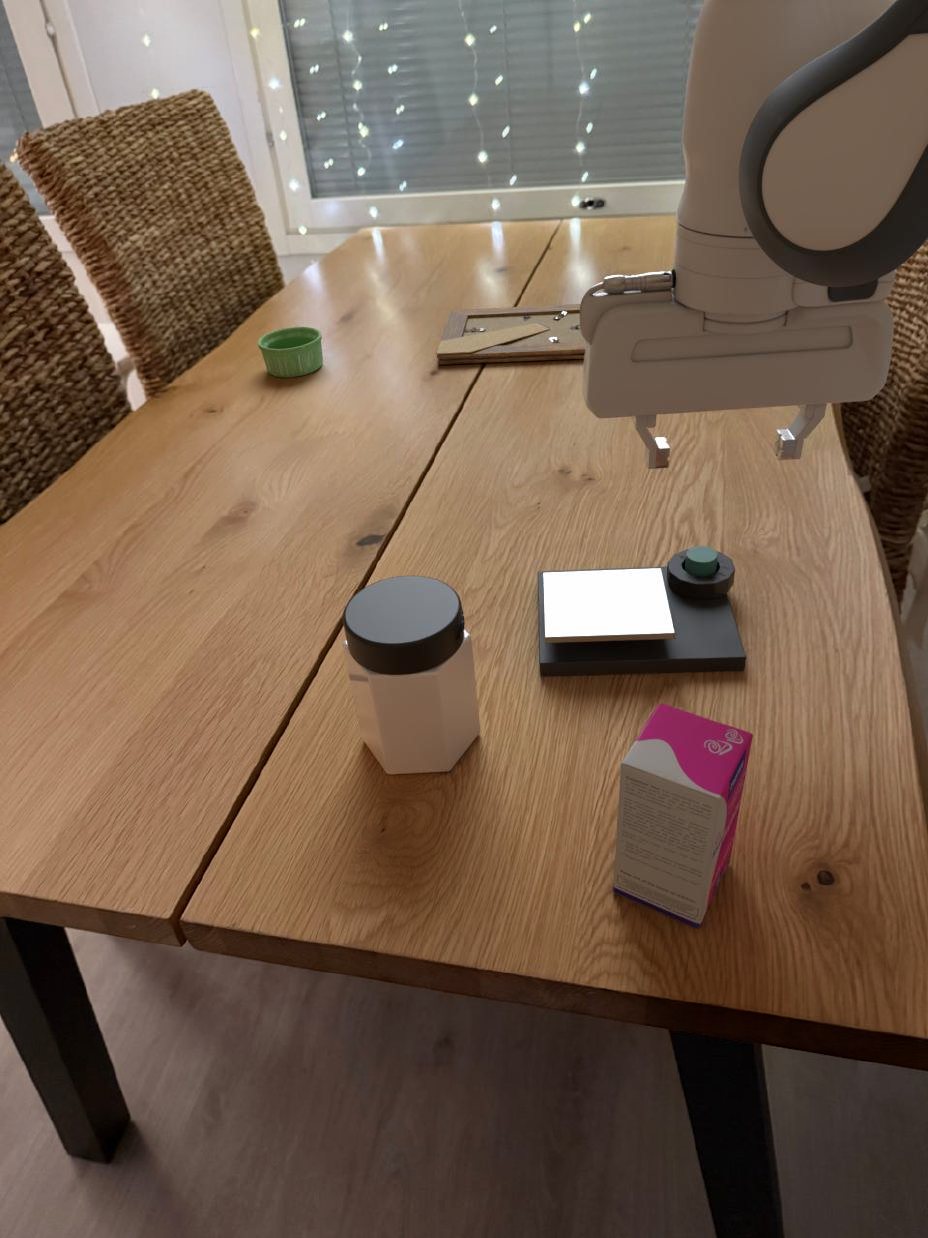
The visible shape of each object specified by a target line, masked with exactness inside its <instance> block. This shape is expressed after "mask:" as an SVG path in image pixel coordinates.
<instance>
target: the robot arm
mask: <svg viewBox="0 0 928 1238" xmlns="http://www.w3.org/2000/svg"><path fill="white" fill-rule="evenodd" d="M681 150H682V154H683V158H684V164H685V165H684V166H685V178H684V179H685V180H684V187H683V191H682V194H681V197H680V200H679V203H678V206H677V210H676V215H675V231H674V233H675V234H674V247H673V258H672V259H673V260H672V269H671V270H663V271H651V272H645V273H640V274H632V275H624V274H612V275H608V276H604V277H603V279H602V282H599V283H596V284H594V285H593V286H591V287H590V288H589V289H588V290H587V291H586V292H585V294H584V295H583V296H582V299H581V300H580V303H579V304H580V332H581V335H582V337H583V339H584V340H585V341H586V342H587V344H586V350H585V356H584V358H583V364H582V375H581V377H582V378H581V392H582V393H581V394H582V397H583V401H584V405H585V407H586V408H587V409H588V410H589V412H591V413H592V414H593V416H594V417H596V418H597V419H616V418H630V417H631V420H632V423H633V425H634V428H635V430H636V432H637V433H638V435H639V437H640V438H641V440H642V442H643V444H644V463H645V466H646V469H647V470H656V469H668V468H669V466H670V461H669V457H670V455H671V454H670V453H671V447H670V445H669V443H668V440H667V438H666V436H661V437H660V436H659V437H656V436H654V433H653V432H652V431H651V429H654V428H655V427H656V425H657V416H660V415H675V414H689V413H692V414H693V413H705V412H719V411H721V412H722V411H734V410H749V409H763V408H777V407H779V408H781V407H793V406H795V407H798V409H799V411H798V412H797V414H796V416H795V417H794V419H792V421H791V423H789V425H788V426H787V428H780V429H776V430H775V436H774V438H775V442H774V443H773V454H774V456H775V457H777V461H794V460H801V458H802V454H803V453H802V452H803V448H804V441H805V440H806V439H807V438H808V437H809V436H810V435H811V433H812V432H813V431H814V430H815V428H816V427H818V425H819V424H820V423H821V422H822V421H823V419H824V418H825V415H826V410H827V405H828V404H836V403H837V404H841V403H854V402H856V403H857V402H867V401H870V400H872V399H873V398H874V397H876V396H877V394H878V393H880V391H881V390H882V389H883V388H885V386H886V383H887V380H888V376H889V371H890V366H891V360H892V353H893V345H894V332H895V319H894V318H895V317H894V313H893V311H892V308H891V307H890V305H889V304H888V302H886V301H885V300H884V299H886V298H888V297H889V296H890V294H891V293H892V291H893V288H894V285H895V281H896V269H898V268H900V266H902V265H903V264H904V263H906V262H907V261H908V260H910V258H911V257H912V256H913V255H914V254H915V253H916V252H917V251H918V250H919V249H920V248H921V247H922V246H923V245H924V244H925V243H927V241H928V0H704V1H703V4H702V6H701V9H700V12H699V15H698V18H697V22H696V26H695V31H694V34H693V39H692V45H691V51H690V56H689V63H688V71H687V79H686V87H685V95H684V106H683V117H682V131H681ZM599 291H602V292H599Z"/></svg>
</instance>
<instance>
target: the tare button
mask: <svg viewBox="0 0 928 1238" xmlns="http://www.w3.org/2000/svg"><path fill="white" fill-rule="evenodd" d="M688 549H689V550H688V551H687V553H686V564H685V570H686V572H687V573H689V574H692V575H696V576H710V575H712V574H714V573H715V572H716V568H717V558H718V554H717V552H716V551H717V550H716V549H714V548H712V547H710V546H705V545H696V546H693V547H690V548H688Z"/></svg>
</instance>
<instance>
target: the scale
mask: <svg viewBox="0 0 928 1238" xmlns="http://www.w3.org/2000/svg"><path fill="white" fill-rule="evenodd" d="M689 549H690V548H688V549H684V550H681V551H678V552H677V553H674V554H673V555H672V556H671V557H670V558H669V560H668V561H667V565H666V566H645V567H641V566H640V567H619V568H618V567H617V568H594V569H593V568H591V569H590V568H589V569H568V570H564V569H563V570H542V571H541V570H540V571H537V609H538V610H537V612H538V654H539V655H538V657H539V663H538V664H539V676H540V677H564V676H568V677H569V676H601V675H634V674H635V675H636V674H637V675H639V674H669V673H671V674H672V673H675V674H676V673H705V672H706V673H707V672H709V673H710V672H736V671H739V672H741V671H745V670H746V663H747V662H746V661H747V655H746V652H745V648H744V645H743V641H742V638H741V635H740V631H739V628H738V625H737V622H736V618H735V616H734V612H733V609H732V606H731V602H730V600H729V596H728V593H729V591H730V590H731V589H732V587H733V586H734V583H735V575H736V574H735V573H736V568H735V564H734V562H733V559H732V558H730V557H729V556H727V555H725V553H723V552H721V551H718V550H715V551H716V552H717V554H718V558H717V568H716V572H715V573H714V574H712V575H710V576H696V575H692V574H689V573H687V572H686V570H685V564H686V553H687V551H688V550H689ZM653 568H661V570H662V574H663V579H664V584H665V588H666V593H667V598H668V603H669V607H670V612H671V617H672V621H673V626H674V631H675V639H656V640H625V641H594V642H563V643H545V624H544V590H543V573H550V572H576V571H602V570H627V569H653Z"/></svg>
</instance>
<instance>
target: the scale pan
mask: <svg viewBox="0 0 928 1238" xmlns="http://www.w3.org/2000/svg"><path fill="white" fill-rule="evenodd" d="M543 590H544V624H545V643H563V642H594V641H625V640H656V639H675V631H674V626H673V621H672V617H671V612H670V607H669V603H668V598H667V593H666V588H665V584H664V579H663V574H662V570H661V568H653V569H627V570H602V571H576V572H550V573H543Z"/></svg>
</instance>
